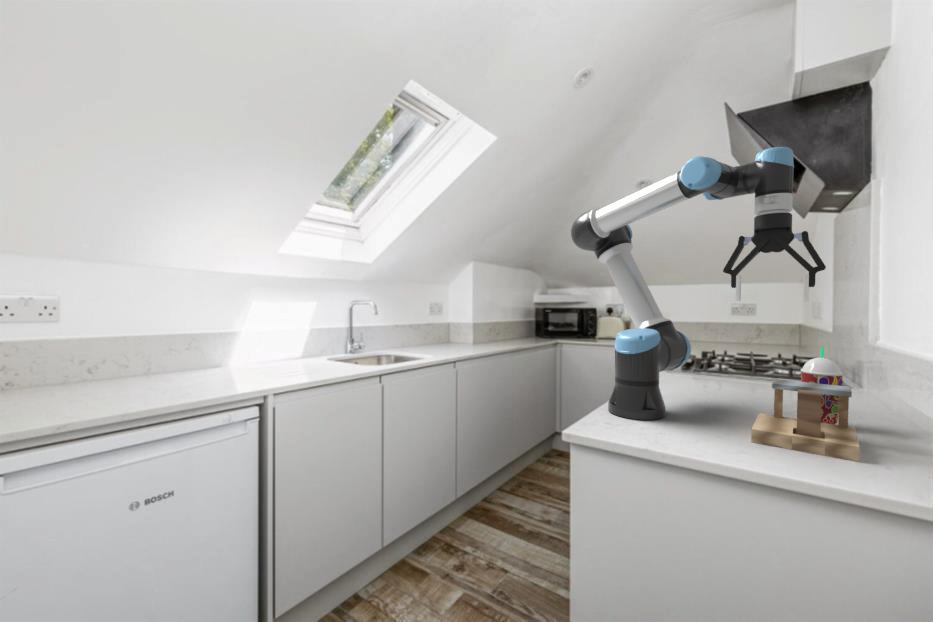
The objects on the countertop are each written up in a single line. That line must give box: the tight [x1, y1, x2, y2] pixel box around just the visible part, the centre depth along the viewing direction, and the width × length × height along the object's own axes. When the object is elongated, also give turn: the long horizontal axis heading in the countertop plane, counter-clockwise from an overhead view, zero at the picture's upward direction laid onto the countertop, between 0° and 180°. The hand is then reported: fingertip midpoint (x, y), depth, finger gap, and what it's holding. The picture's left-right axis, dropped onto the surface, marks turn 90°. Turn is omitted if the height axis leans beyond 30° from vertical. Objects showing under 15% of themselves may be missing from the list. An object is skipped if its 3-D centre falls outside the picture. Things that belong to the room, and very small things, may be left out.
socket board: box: [750, 378, 861, 463], centre depth 96 cm, size 18×16×12 cm
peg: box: [796, 390, 822, 438], centre depth 93 cm, size 4×4×12 cm
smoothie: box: [800, 346, 844, 425], centre depth 108 cm, size 8×8×20 cm
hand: (770, 301), depth 104 cm, fingers open, 13 cm apart
